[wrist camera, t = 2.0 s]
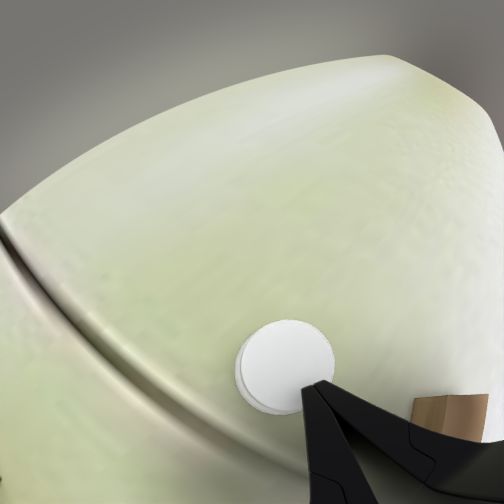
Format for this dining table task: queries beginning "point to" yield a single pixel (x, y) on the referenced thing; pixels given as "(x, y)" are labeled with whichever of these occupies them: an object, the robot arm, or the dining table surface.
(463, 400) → the walnut block
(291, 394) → the supplement bottle
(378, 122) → the dining table surface
